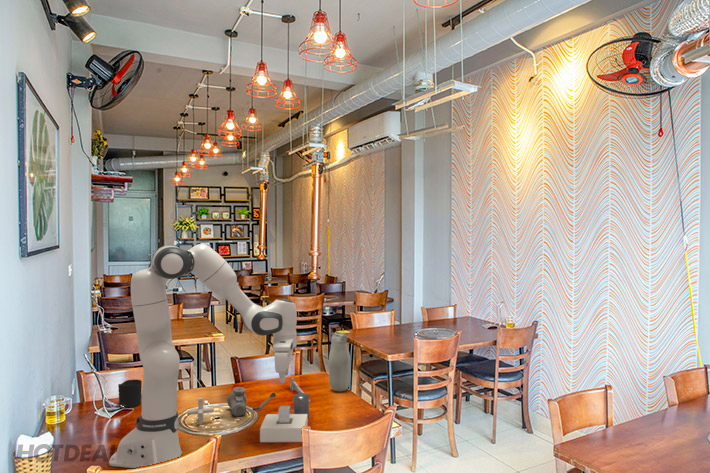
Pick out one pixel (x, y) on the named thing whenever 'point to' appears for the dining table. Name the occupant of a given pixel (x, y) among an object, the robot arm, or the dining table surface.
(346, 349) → the grey bottle
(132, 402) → the pen holder
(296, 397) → the round pin
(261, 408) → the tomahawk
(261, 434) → the bore block
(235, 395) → the pipe fitting
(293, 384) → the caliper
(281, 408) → the square bar
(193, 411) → the pipe connector
